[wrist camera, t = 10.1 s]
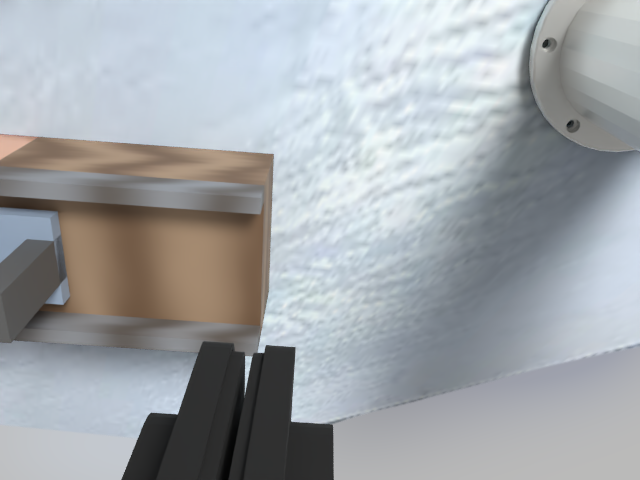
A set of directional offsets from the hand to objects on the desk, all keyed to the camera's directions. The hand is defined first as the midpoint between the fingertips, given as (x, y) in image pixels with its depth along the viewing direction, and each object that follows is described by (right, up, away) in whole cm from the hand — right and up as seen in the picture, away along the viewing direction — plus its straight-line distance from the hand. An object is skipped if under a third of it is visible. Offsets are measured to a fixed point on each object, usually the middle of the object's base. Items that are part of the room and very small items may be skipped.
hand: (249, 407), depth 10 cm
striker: (-18, +2, +25) cm, 30 cm away
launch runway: (-10, +5, +30) cm, 32 cm away
